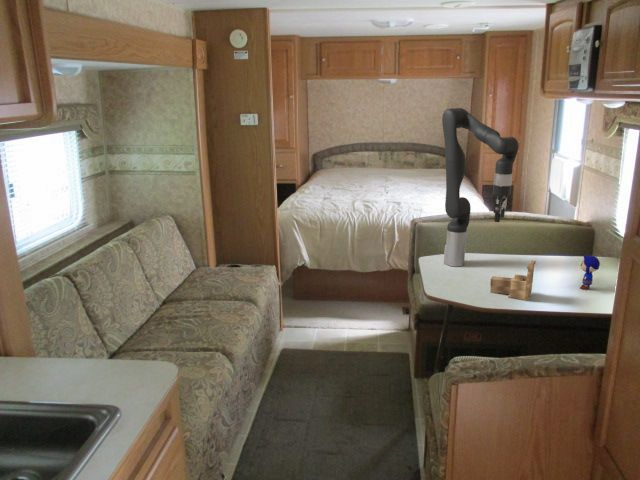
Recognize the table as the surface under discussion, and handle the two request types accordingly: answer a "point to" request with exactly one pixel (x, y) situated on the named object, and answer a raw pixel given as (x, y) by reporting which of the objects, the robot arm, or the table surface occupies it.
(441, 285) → the table surface
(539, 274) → the table surface
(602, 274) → the table surface
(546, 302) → the table surface
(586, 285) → the toy
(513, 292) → the wooden chair
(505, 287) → the light brown wooden block
